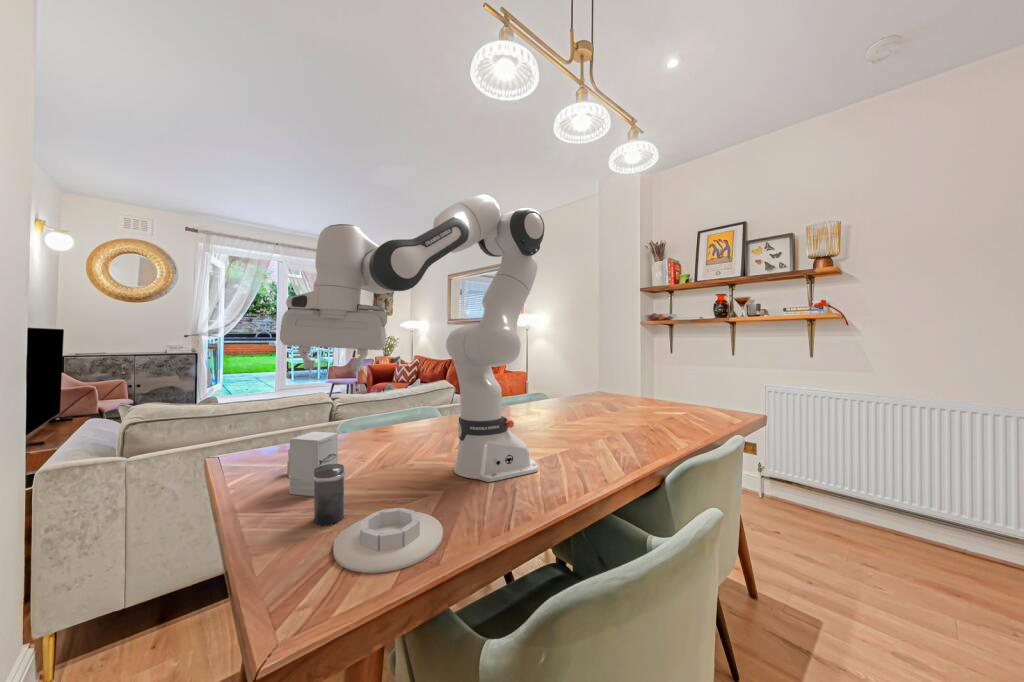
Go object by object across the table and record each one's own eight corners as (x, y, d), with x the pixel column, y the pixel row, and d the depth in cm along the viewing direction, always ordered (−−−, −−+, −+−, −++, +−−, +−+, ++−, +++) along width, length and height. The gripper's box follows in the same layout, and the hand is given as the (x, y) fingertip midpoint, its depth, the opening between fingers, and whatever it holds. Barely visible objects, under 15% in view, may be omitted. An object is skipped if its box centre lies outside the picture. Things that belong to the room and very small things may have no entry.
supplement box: (317, 497, 83) (317, 440, 83) (288, 494, 85) (288, 438, 85) (338, 484, 90) (338, 432, 90) (312, 482, 92) (311, 430, 92)
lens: (345, 511, 77) (345, 462, 77) (343, 523, 72) (343, 471, 71) (315, 515, 75) (315, 465, 75) (311, 528, 70) (311, 474, 70)
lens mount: (435, 510, 77) (435, 493, 77) (451, 559, 60) (451, 537, 60) (338, 524, 71) (339, 506, 71) (326, 583, 54) (326, 559, 54)
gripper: (392, 307, 81) (388, 371, 81) (294, 302, 80) (290, 367, 80) (383, 304, 75) (379, 373, 74) (277, 298, 74) (272, 368, 73)
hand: (332, 370), depth 77 cm, fingers open, 8 cm apart
